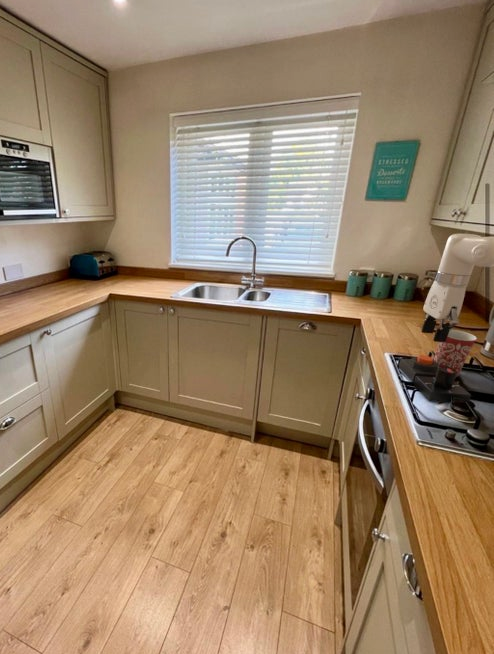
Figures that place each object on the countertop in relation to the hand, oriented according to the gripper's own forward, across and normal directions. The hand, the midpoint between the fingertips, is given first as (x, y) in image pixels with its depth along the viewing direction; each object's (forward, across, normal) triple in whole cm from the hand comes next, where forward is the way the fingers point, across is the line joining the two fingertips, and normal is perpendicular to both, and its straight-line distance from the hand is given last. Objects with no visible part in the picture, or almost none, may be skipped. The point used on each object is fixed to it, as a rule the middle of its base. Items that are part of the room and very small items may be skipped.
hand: (433, 336), depth 101 cm
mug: (+14, -5, +10) cm, 18 cm away
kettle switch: (+9, 0, 0) cm, 9 cm away
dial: (+11, +11, 0) cm, 15 cm away
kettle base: (+14, 0, 0) cm, 14 cm away
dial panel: (+14, +11, 0) cm, 17 cm away
